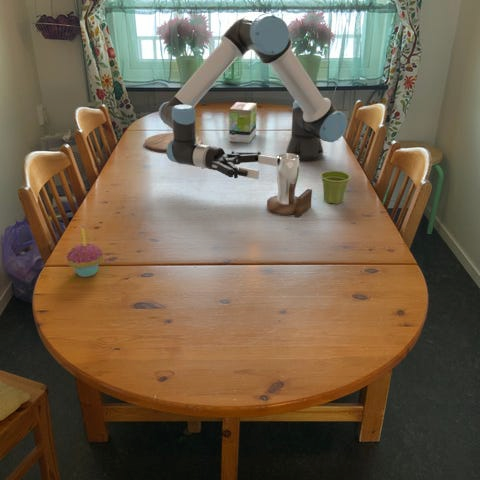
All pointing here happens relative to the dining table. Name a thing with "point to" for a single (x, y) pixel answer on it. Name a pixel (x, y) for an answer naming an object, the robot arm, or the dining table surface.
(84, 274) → the cupcake
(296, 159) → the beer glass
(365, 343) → the dining table surface
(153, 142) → the trivet
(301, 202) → the walnut base
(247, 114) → the tea box
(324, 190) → the plant pot
